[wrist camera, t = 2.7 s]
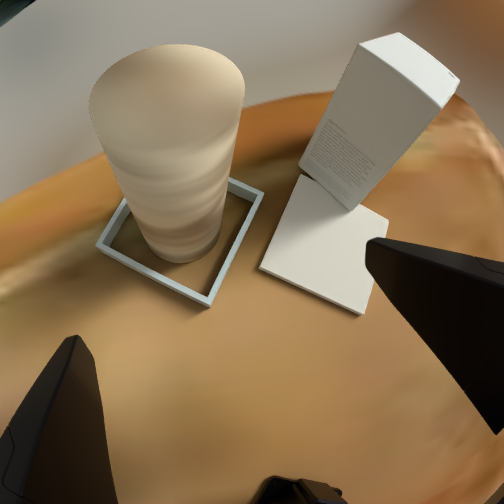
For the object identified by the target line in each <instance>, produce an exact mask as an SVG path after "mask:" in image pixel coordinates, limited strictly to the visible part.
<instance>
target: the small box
mask: <svg viewBox="0 0 504 504" xmlns="http://www.w3.org/2000/svg"><path fill="white" fill-rule="evenodd" d="M459 82H460V80H459V79H458V78H457V77H456V76H455V75H454V74H453V73H452V72H450V71H449V70H448V69H447V68H446V67H445V66H444V65H442V64H441V63H440V62H439V61H438V60H436V59H435V58H434V57H433V56H432V55H430V54H429V53H428V52H426V51H425V50H424V49H422V48H421V47H419V46H418V45H417V44H415V43H414V42H413V41H411V40H409V39H408V38H407V37H405V36H404V35H402V34H401V33H399V32H397V33H393V34H390V35H386V36H383V37H379V38H376V39H373V40H369V41H366V42H362V43H359V44H358V45H357V47H356V50H355V51H354V53H353V56H352V58H351V60H350V62H349V64H348V65H347V67H346V70H345V72H344V74H343V76H342V78H341V80H340V82H339V84H338V86H337V88H336V90H335V92H334V94H333V96H332V98H331V100H330V102H329V104H328V106H327V108H326V110H325V112H324V114H323V116H322V118H321V120H320V122H319V124H318V126H317V128H316V130H315V132H314V134H313V136H312V138H311V140H310V142H309V144H308V145H307V147H306V149H305V151H304V153H303V155H302V157H301V159H300V161H299V163H298V165H299V167H300V168H302V169H303V170H304V171H305V172H306V173H308V174H309V175H310V176H311V177H312V178H313V179H315V180H316V181H317V182H318V183H319V184H320V185H322V186H323V187H324V188H325V189H326V190H327V191H328V192H329V193H330V194H332V195H333V196H334V197H335V198H336V199H337V200H338V201H339V202H340V203H342V204H343V205H344V206H345V207H346V208H347V209H348V210H350V211H353V210H354V209H355V208H356V207H357V206H358V205H359V203H360V202H361V201H362V200H363V199H364V198H365V197H366V196H367V195H368V194H369V192H370V191H371V190H372V189H373V188H374V187H375V186H376V185H377V184H378V182H379V181H380V180H381V179H382V178H383V177H384V176H385V175H386V174H387V172H388V171H389V170H390V169H391V168H392V167H393V166H394V165H395V164H396V163H397V161H398V160H399V159H400V158H401V157H402V156H403V154H404V153H405V152H406V151H407V150H408V148H409V147H410V146H411V145H412V144H413V143H414V142H415V140H416V139H417V138H418V137H419V136H420V135H421V133H422V132H423V131H424V130H425V129H426V128H427V126H428V125H429V124H430V123H431V122H432V120H433V119H434V118H435V117H436V116H437V114H438V113H439V112H440V111H441V110H442V108H443V107H444V106H445V104H446V103H447V102H448V100H449V99H450V98H451V96H452V95H453V94H454V92H455V90H456V88H457V86H458V84H459Z"/></svg>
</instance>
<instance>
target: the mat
mask: <svg viewBox="0 0 504 504" xmlns="http://www.w3.org/2000/svg"><path fill="white" fill-rule="evenodd" d="M388 223H389V220H387V219H385V218H384V217H382V216H380V215H378V214H376V213H375V212H373V211H371V210H369V209H368V208H366V207H364V206H362V205H360V204H359V205H358V206H357V207H356V208H355V209H354V210H353V211H350V210H348V209H347V208H346V207H345V206H344V205H343V204H342V203H340V202H339V201H338V200H337V199H336V198H335V197H334V196H333V195H332V194H330V193H329V192H328V191H327V190H326V189H325V188H324V187H323V186H322V185H320V184H319V183H318V182H316V181H314V180H312V179H310V178H308V177H306V176H304V175H302V174H300V176H299V178H298V180H297V183H296V185H295V187H294V190H293V192H292V194H291V196H290V199H289V201H288V203H287V206H286V208H285V210H284V212H283V215H282V217H281V219H280V222H279V224H278V226H277V228H276V231H275V233H274V235H273V237H272V240H271V242H270V244H269V246H268V249H267V251H266V253H265V255H264V258H263V260H262V262H261V264H260V267H259V269H260V270H263V271H265V272H267V273H269V274H271V275H273V276H275V277H278V278H280V279H282V280H284V281H286V282H288V283H291V284H293V285H295V286H297V287H299V288H301V289H304V290H306V291H308V292H310V293H312V294H314V295H317V296H319V297H321V298H323V299H325V300H328V301H330V302H332V303H334V304H336V305H338V306H341V307H343V308H345V309H347V310H349V311H352V312H354V313H356V314H358V315H364V313H365V310H366V306H367V303H368V300H369V296H370V293H371V290H372V286H373V283H374V278H373V277H372V276H371V274H370V273H369V272H368V270H367V269H366V266H365V249H366V243H367V241H368V240H370V239H373V238H375V237H382V238H385V236H386V232H387V227H388Z"/></svg>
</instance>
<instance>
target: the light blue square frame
mask: <svg viewBox="0 0 504 504" xmlns="http://www.w3.org/2000/svg"><path fill="white" fill-rule="evenodd" d="M227 191H229V192H231V193H233V194H235V195H237V196H240V197H242V198H244V199H246V200H248V201H250V202H253V203H254V204H253V206H252V208H251V210H250V212H249V214H248V216H247V218H246V220H245V222H244V224H243V226H242V228H241V230H240V232H239V234H238V236H237V238H236V240H235V242H234V244H233V246H232V248H231V250H230V252H229V254H228V256H227V258H226V260H225V262H224V264H223V266H222V269H221V271H220V273H219V275H218V277H217V279H216V281H215V283H214V285H213V287H212V289H211V291H210V293H209V295H208V297H206V296H204V295H201V294H199V293H197V292H195V291H193V290H191V289H189V288H187V287H185V286H183V285H181V284H179V283H177V282H175V281H173V280H171V279H169V278H167V277H165V276H163V275H161V274H159V273H157V272H155V271H153V270H151V269H149V268H147V267H145V266H144V265H142V264H140V263H138V262H136V261H134V260H132V259H130V258H128V257H126V256H125V255H123V254H121V253H119V252H117V251H115V250H113V249H112V248H110V247H109V246H110V245H111V243H112V241H113V239H114V238H115V236H116V234H117V233H118V231H119V229H120V228H121V226H122V224H123V223H124V221H125V219H126V218H127V216H128V214H129V213H130V211H131V210H130V208H129V206H128V204H127V202H126V199H125V197H124V199H123V200H122V202H121V204H120V205H119V207H118V208H117V210H116V211H115V213H114V215H113V216H112V218H111V220H110V221H109V223H108V225H107V226H106V228H105V230H104V231H103V233H102V235H101V236H100V238H99V240H98V242H97V243H96V245H95V246H96V247H97V248H98V249H99V250H100V251H101V252H102V253H104V254H106V255H108V256H110V257H111V258H113V259H115V260H117V261H119V262H120V263H122V264H124V265H126V266H128V267H130V268H132V269H133V270H135V271H137V272H139V273H141V274H143V275H145V276H147V277H149V278H151V279H152V280H154V281H156V282H158V283H160V284H162V285H164V286H166V287H168V288H170V289H172V290H174V291H176V292H178V293H180V294H182V295H184V296H186V297H188V298H190V299H192V300H194V301H196V302H198V303H200V304H203V305H205V306H207V307H209V308H210V307H211V305H212V303H213V301H214V299H215V296H216V294H217V292H218V290H219V288H220V286H221V284H222V282H223V280H224V278H225V275H226V273H227V271H228V269H229V267H230V265H231V263H232V261H233V259H234V257H235V255H236V253H237V250H238V248H239V246H240V244H241V242H242V240H243V238H244V236H245V234H246V232H247V230H248V228H249V226H250V224H251V221H252V219H253V217H254V215H255V213H256V211H257V209H258V207H259V205H260V203H261V201H262V198H263V196H264V192H262V191H259V190H257V189H255V188H253V187H251V186H248V185H246V184H244V183H242V182H240V181H237V180H235V179H233V178H231V177H229V180H228V186H227Z"/></svg>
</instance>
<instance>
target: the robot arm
mask: <svg viewBox="0 0 504 504" xmlns="http://www.w3.org/2000/svg"><path fill="white" fill-rule="evenodd" d="M365 266H366V269H367V270H368V272H369V273H370V274H371V276H372V277H373V278H374V280H375V281H376V283H377V284H378V285H379V287H380V288H381V289H382V291H383V292H384V294H385V295H386V296H387V298H388V299H389V300H390V302H391V303H392V304H393V305H394V307H395V308H396V309H397V310H398V311H399V312H400V313H401V315H402V316H403V317H404V318H405V319H406V320H407V322H408V323H409V324H410V325H411V326H412V327H413V329H414V330H415V331H416V332H417V333H418V335H419V336H420V337H421V338H422V339H423V341H424V342H425V343H426V344H427V345H428V347H429V348H430V349H431V350H432V352H433V353H434V354H435V355H436V356H437V358H438V359H439V360H440V361H441V363H442V364H443V365H444V366H445V368H446V369H447V370H448V372H449V373H450V374H451V375H452V377H453V378H454V379H455V381H456V382H457V383H458V384H459V386H460V387H461V388H462V390H463V391H464V393H465V394H466V395H467V397H468V398H469V399H470V401H471V402H472V403H473V405H474V406H475V408H476V409H477V410H478V412H479V413H480V414H481V416H482V417H483V419H484V420H485V421H486V423H487V424H488V426H489V427H490V429H491V430H492V431H493V433H494V434H495V435H497V434H498V433H499V432H500V431H501V430H502V429H503V428H504V262H499V261H494V260H489V259H485V258H480V257H476V256H475V257H473V256H471V255H466V254H462V253H457V252H452V251H447V250H443V249H438V248H433V247H428V246H423V245H418V244H413V243H408V242H403V241H398V240H392V239H387V238H382V237H375V238H373V239H370V240H368V241H367V243H366V249H365ZM275 480H278V482H277V483H275V484H273V481H275ZM336 492H338V493H336ZM341 496H342V491H341V490H340V489H338V488H333V487H330V486H329V485H328V484H327V483H321V482H316V481H311V480H306V479H302V478H301V479H298V480H292V479H288V478H284V477H280V476H272V477H270V478H269V480H268V482H267V484H266V485H265V487H264V489H263V491H262V493H261V494H260V496H259V498H258V500H257V501H256V503H255V504H348V503H347V502H346V501H345V500H344V499H343V498H342V497H341ZM0 504H118V501H117V496H116V492H115V487H114V482H113V477H112V472H111V466H110V460H109V454H108V447H107V440H106V432H105V424H104V415H103V407H102V401H101V396H100V391H99V385H98V380H97V374H96V367H95V361H94V358H93V356H92V354H91V352H90V351H89V349H88V348H87V346H86V344H85V343H84V341H83V340H82V338H81V337H80V336H79V335H73V336H70V337H67V338H65V339H64V341H63V342H62V343H61V345H60V346H59V348H58V349H57V350H56V352H55V353H54V355H53V356H52V358H51V359H50V360H49V362H48V363H47V365H46V366H45V368H44V369H43V371H42V372H41V373H40V375H39V376H38V378H37V379H36V381H35V382H34V384H33V386H32V387H31V389H30V390H29V392H28V393H27V395H26V396H25V398H24V400H23V401H22V403H21V404H20V406H19V408H18V409H17V411H16V412H15V414H14V416H13V417H12V419H11V421H10V422H9V426H7V427H6V429H5V431H4V433H3V435H2V436H1V438H0ZM484 504H504V483H503V484H502V485H501V486H500V487H499V488H498V490H497V491H496V492H495V493H494V494H493V495H492V496H491V497H490V498H489V499H488V500H487V501H486V502H485V503H484Z"/></svg>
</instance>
